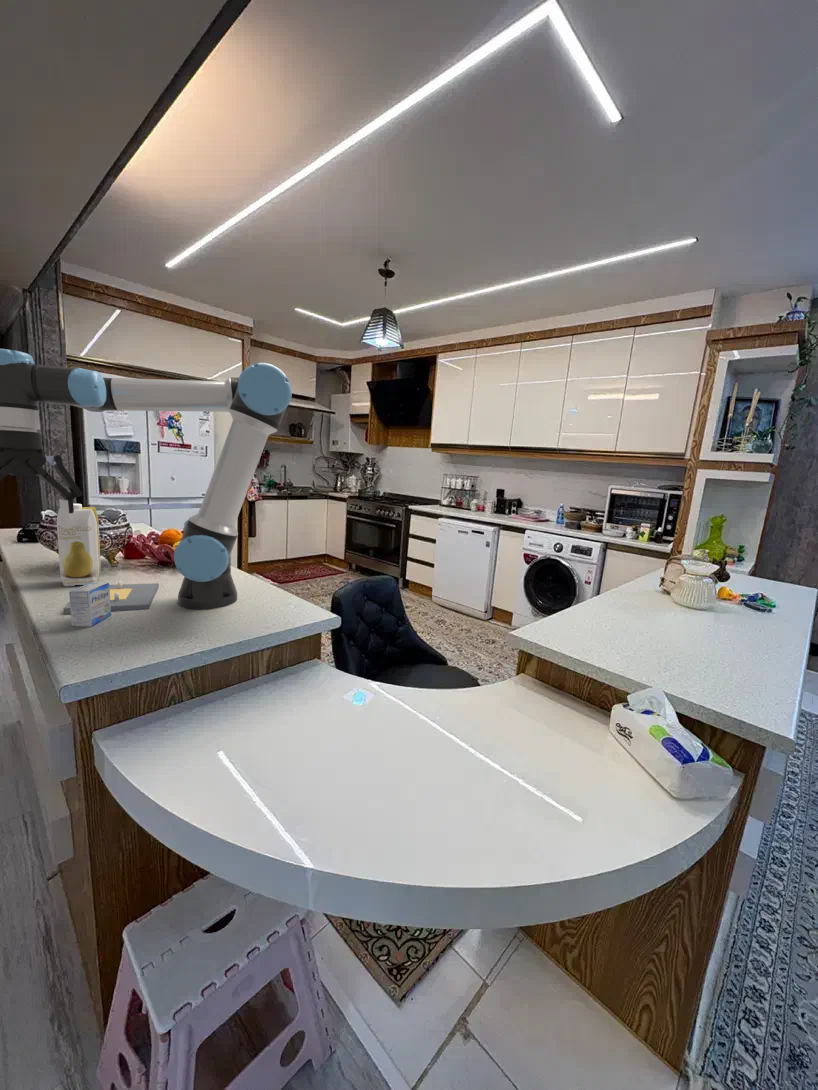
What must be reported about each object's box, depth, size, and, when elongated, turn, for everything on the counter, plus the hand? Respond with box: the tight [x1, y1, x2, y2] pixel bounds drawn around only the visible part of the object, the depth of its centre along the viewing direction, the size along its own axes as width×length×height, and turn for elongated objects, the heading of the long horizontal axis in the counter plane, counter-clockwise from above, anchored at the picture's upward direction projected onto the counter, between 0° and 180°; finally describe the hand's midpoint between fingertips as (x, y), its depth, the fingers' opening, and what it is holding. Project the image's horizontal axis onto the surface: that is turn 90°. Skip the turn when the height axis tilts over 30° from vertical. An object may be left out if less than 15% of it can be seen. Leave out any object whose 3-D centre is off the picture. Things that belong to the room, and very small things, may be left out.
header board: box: [63, 581, 160, 615], centre depth 119 cm, size 18×20×4 cm
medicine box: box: [68, 581, 112, 628], centre depth 103 cm, size 8×4×9 cm, turn 5°
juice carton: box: [56, 503, 102, 587], centre depth 128 cm, size 9×8×24 cm
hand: (28, 531), depth 95 cm, fingers open, 13 cm apart
